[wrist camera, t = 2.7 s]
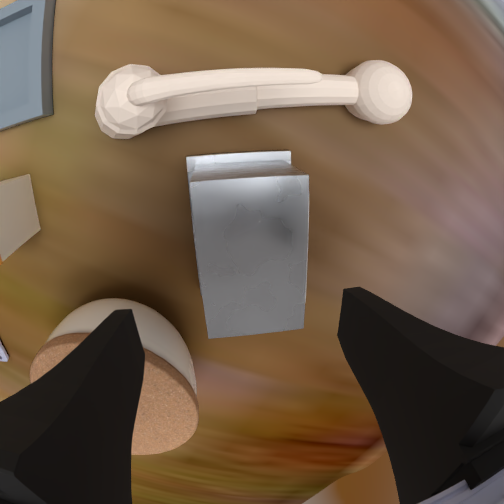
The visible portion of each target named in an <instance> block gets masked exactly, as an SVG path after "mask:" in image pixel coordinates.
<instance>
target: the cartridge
mask: <svg viewBox="0 0 504 504" xmlns="http://www.w3.org/2000/svg"><path fill="white" fill-rule="evenodd" d="M40 230H41V228H40V224H39V220H38V215H37V210H36V205H35V200H34V195H33V190H32V184H31V178H30V174H27V175H23V176H19V177H15V178H11V179H7V180H4V181H0V265H1V264H2V263H3V261H4V260H5V259H6V258H7V257H9V256H10V255H11V254H12V253H13V252H14V251H16V250H17V249H18V248H19V247H20V246H21V245H23V244H24V243H25V242H26V241H27V240H29V239H30V238H31V237H32V236H34V235H35V234H36V233H37V232H39V231H40Z"/></svg>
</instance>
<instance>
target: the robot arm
mask: <svg viewBox="0 0 504 504" xmlns="http://www.w3.org/2000/svg"><path fill="white" fill-rule="evenodd" d="M337 336H338V338H339V341H340V344H341V347H342V350H343V352H344V355H345V358H346V360H347V362H348V364H349V365H350V367H351V369H352V371H353V373H354V375H355V377H356V379H357V380H358V382H359V384H360V386H361V388H362V390H363V392H364V394H365V395H366V397H367V399H368V401H369V403H370V405H371V407H372V409H373V411H374V414H375V416H376V419H377V421H378V424H379V427H380V430H381V432H382V435H383V438H384V441H385V445H386V448H387V451H388V454H389V457H390V461H391V465H392V469H393V473H394V476H395V481H396V486H397V491H398V496H399V501H400V504H504V348H503V347H498V346H493V345H488V344H484V343H480V342H477V341H474V340H470V339H467V338H464V337H461V336H458V335H455V334H452V333H450V332H447V331H445V330H442V329H440V328H437V327H435V326H433V325H431V324H429V323H427V322H424V321H422V320H420V319H418V318H416V317H414V316H413V315H411V314H409V313H407V312H405V311H403V310H401V309H400V308H398V307H396V306H394V305H392V304H391V303H389V302H387V301H385V300H384V299H382V298H380V297H378V296H376V295H375V294H373V293H371V292H369V291H367V290H365V289H363V288H361V287H354V288H347V289H343V298H342V306H341V313H340V321H339V328H338V334H337ZM8 359H9V357H8V354H7V353H6V351H5V349H4V347H3V345H2V343H1V341H0V361H5V362H7V361H8ZM144 366H145V352H144V349H143V346H142V342H141V339H140V336H139V332H138V329H137V326H136V322H135V318H134V315H133V311H132V309H118V310H114V311H113V312H112V313H111V314H110V315H109V316H108V317H107V318H106V319H105V320H103V321H102V322H101V323H100V324H99V325H98V326H97V327H96V328H95V329H94V330H93V331H92V332H91V333H90V334H89V335H88V336H87V337H86V338H85V339H84V340H83V341H82V342H81V343H80V344H79V345H78V346H77V347H76V348H75V349H74V350H73V351H71V352H70V353H69V354H68V355H67V356H66V357H65V358H64V359H63V360H62V361H60V362H59V363H58V364H57V365H56V366H54V367H53V368H52V369H51V370H49V371H48V372H47V373H45V374H44V375H43V376H41V377H40V378H39V379H37V380H36V381H34V382H33V383H31V384H30V385H28V386H27V387H25V388H23V389H22V390H20V391H19V392H17V393H16V394H14V395H12V396H10V397H8V398H7V399H5V400H3V401H1V402H0V504H132V495H131V450H132V438H133V430H134V425H135V420H136V414H137V409H138V404H139V399H140V394H141V389H142V384H143V379H144Z"/></svg>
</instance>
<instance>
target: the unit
mask: <svg viewBox="0 0 504 504" xmlns="http://www.w3.org/2000/svg"><path fill="white" fill-rule="evenodd" d="M186 160H187V173H188V184H189V195H190V205H191V215H192V225H193V234H194V243H195V251H196V260H197V268H198V276H199V283H200V291H201V296H202V297H203V304H204V311H205V318H206V325H207V332H208V338H209V339H210V338H222V337H233V336H243V335H253V334H262V333H271V332H279V331H287V330H295V329H302V328H303V327H304V311H305V301H306V282H307V260H308V230H309V175H308V174H306V173H305V172H303V171H301V170H299V169H298V168H296V167H294V166H293V165H291V151H289V150H265V151H244V152H227V153H213V154H201V155H190V156H187V157H186Z"/></svg>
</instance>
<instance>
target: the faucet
mask: <svg viewBox="0 0 504 504" xmlns="http://www.w3.org/2000/svg"><path fill="white" fill-rule="evenodd" d="M411 102H412V89H411V85H410V83H409V80H408V78H407V77H406V76H405V74H404V73H403V72H402V71H401V70H400V69H399V68H398V67H396V66H394V65H392V64H391V63H389V62H386V61H382V60H369V61H366V62H363V63H361V64H360V65H358V66H357V67H355V68H354V69H352V70H350V71H349V72H348V73H347V74H346V75H332V74H321V73H319V72H317V71H313V70H308V69H294V68H236V69H219V70H206V71H195V72H185V73H177V74H168V75H160V74H158V73H157V72H156V71H154V70H153V69H152V68H150V67H149V66H144V65H134V64H129V65H126V66H124V67H122V68H119V69H117V70H115V71H112V72H111V73H110V74H109V76H108V77H107V78H106V79H105V80H104V82H103V83H102V84H101V85H100V87H99V91H98V96H97V103H96V111H95V117H96V119H97V122H98V124H99V126H100V129H101V131H102V132H104V133H105V134H107V135H108V136H110V137H111V138H115V139H130V138H132V137H134V136H136V135H139V134H141V133H143V132H144V131H145V130H147V129H149V128H152V127H155V126H161V125H167V124H173V123H180V122H186V121H193V120H201V119H209V118H217V117H226V116H236V115H247V114H256V111H257V109H268V108H281V107H296V106H317V105H345V107H346V108H347V109H348V111H349V112H350V113H352V114H353V115H354V116H356V117H358V118H360V119H363V120H366V121H369V122H372V123H376V124H389V123H393V122H396V121H398V120H399V119H401V118H402V117H403V116H404V115H405V114H406V113H407V111H408V110H409V108H410V106H411Z"/></svg>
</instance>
